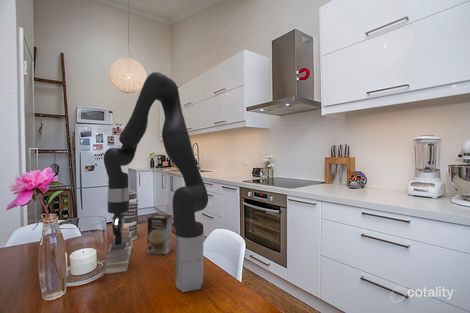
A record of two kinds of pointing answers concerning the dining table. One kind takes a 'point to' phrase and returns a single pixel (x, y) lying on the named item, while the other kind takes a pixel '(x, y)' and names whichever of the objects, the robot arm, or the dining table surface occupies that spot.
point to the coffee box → (159, 234)
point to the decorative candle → (131, 214)
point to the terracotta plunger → (125, 231)
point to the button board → (119, 256)
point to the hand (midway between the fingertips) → (118, 243)
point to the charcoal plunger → (118, 246)
